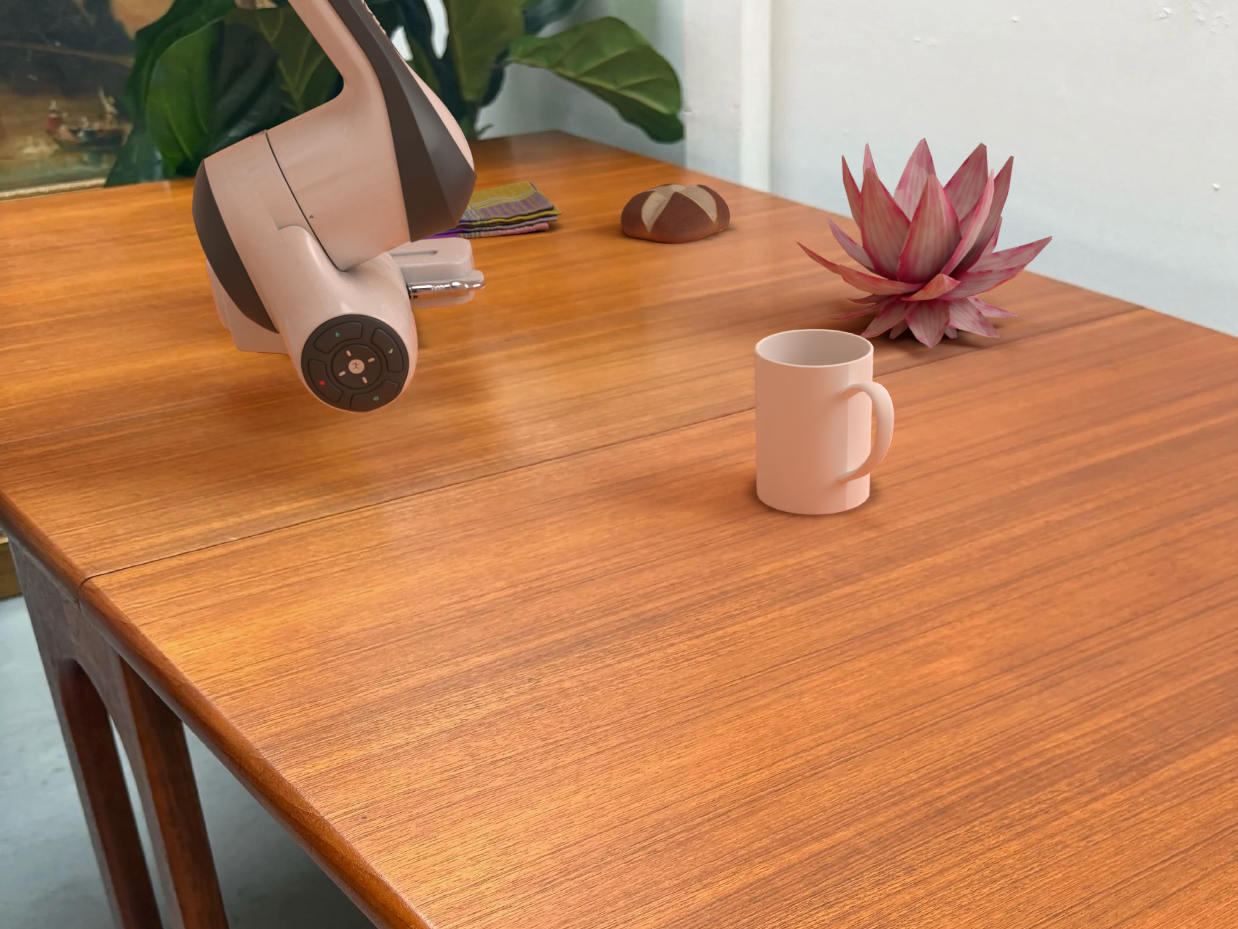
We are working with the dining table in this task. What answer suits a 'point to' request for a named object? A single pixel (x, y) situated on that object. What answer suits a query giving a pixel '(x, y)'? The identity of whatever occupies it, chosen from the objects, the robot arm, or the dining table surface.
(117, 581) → the dining table surface
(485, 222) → the dish towel
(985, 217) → the decorative flower
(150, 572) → the dining table surface
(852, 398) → the mug
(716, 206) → the bread
